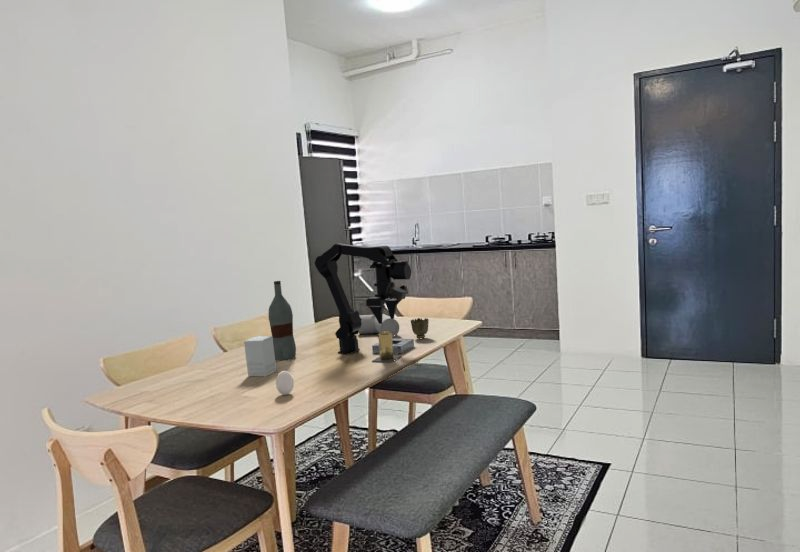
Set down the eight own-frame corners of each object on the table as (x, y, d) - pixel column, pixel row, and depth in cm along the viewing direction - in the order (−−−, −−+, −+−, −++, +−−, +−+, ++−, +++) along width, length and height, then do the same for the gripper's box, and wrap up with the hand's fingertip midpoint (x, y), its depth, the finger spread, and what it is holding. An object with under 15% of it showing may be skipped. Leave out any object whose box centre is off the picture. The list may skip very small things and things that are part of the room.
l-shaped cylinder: (406, 326, 259) (364, 328, 264) (403, 305, 256) (360, 306, 260) (399, 343, 243) (354, 345, 247) (396, 321, 240) (350, 322, 244)
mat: (372, 361, 204) (371, 360, 204) (382, 356, 212) (381, 355, 211) (392, 362, 201) (392, 361, 201) (401, 357, 208) (401, 355, 208)
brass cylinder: (378, 359, 205) (375, 333, 204) (384, 356, 209) (381, 330, 208) (390, 360, 203) (387, 333, 202) (395, 356, 207) (393, 330, 206)
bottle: (278, 355, 226) (271, 280, 223) (300, 355, 224) (293, 279, 221) (268, 361, 217) (260, 283, 214) (291, 361, 215) (283, 282, 212)
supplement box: (277, 370, 203) (273, 335, 201) (265, 376, 196) (261, 340, 194) (259, 370, 205) (255, 335, 204) (247, 376, 198) (243, 340, 197)
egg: (279, 398, 170) (276, 374, 169) (275, 394, 174) (273, 370, 174) (296, 395, 172) (294, 371, 171) (292, 390, 177) (290, 367, 176)
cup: (433, 336, 238) (431, 317, 237) (424, 340, 232) (422, 321, 231) (417, 336, 242) (416, 317, 241) (408, 339, 236) (407, 320, 235)
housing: (372, 353, 218) (372, 345, 217) (386, 345, 228) (386, 338, 228) (401, 354, 213) (400, 346, 212) (414, 346, 223) (413, 338, 223)
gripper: (390, 283, 200) (393, 327, 202) (414, 276, 217) (416, 317, 219) (363, 283, 206) (366, 326, 207) (388, 276, 222) (391, 316, 224)
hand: (386, 321), depth 214 cm, fingers open, 9 cm apart
